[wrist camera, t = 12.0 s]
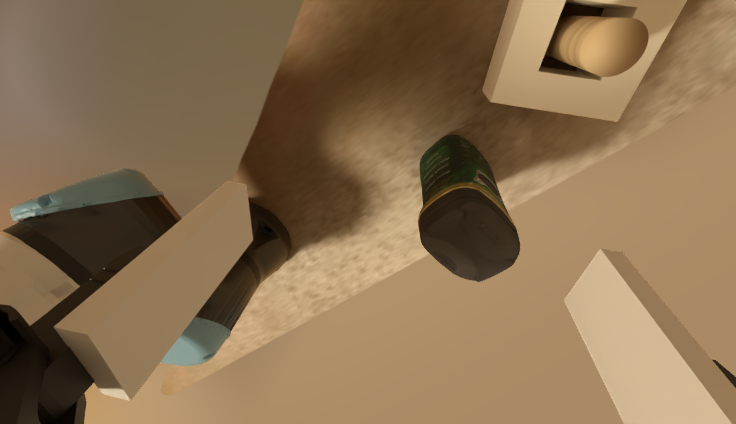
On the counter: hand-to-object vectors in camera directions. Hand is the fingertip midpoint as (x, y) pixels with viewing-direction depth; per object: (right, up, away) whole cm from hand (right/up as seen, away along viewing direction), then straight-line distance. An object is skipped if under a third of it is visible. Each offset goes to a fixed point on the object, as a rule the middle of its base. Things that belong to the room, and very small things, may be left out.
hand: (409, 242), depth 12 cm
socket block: (+19, +20, +22) cm, 35 cm away
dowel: (+19, +20, +22) cm, 35 cm away
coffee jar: (+11, +8, +32) cm, 34 cm away
